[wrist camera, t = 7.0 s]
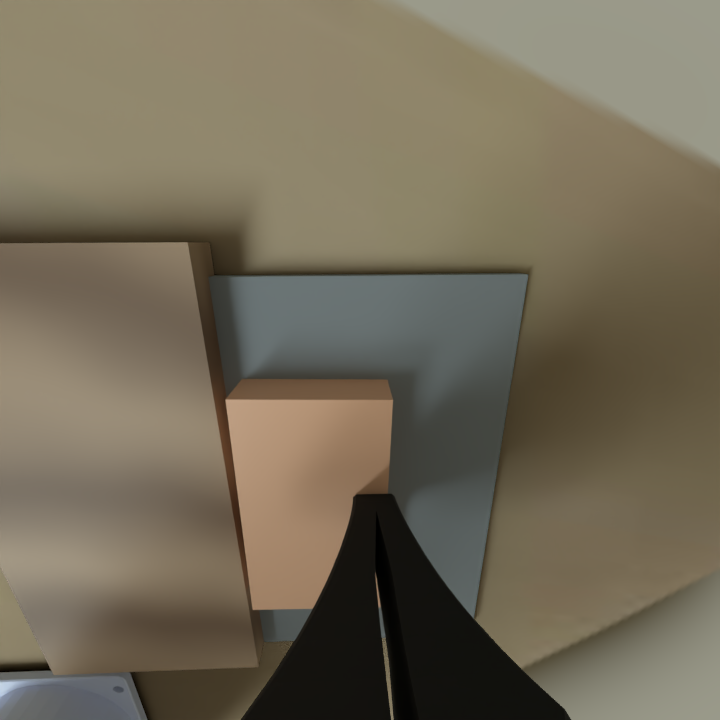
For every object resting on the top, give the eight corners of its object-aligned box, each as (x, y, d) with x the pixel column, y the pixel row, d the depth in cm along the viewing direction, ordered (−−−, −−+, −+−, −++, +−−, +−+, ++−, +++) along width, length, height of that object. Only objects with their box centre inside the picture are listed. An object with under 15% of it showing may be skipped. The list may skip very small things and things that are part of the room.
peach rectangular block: (378, 569, 15) (381, 607, 13) (262, 571, 14) (252, 609, 13) (387, 379, 12) (393, 399, 10) (242, 378, 11) (225, 399, 10)
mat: (467, 623, 17) (471, 634, 16) (266, 630, 16) (264, 642, 16) (520, 272, 11) (528, 274, 10) (214, 275, 11) (208, 276, 10)
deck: (266, 630, 16) (258, 667, 15) (79, 636, 16) (53, 675, 15) (209, 242, 10) (187, 242, 9) (-89, 244, 10) (-160, 244, 9)
